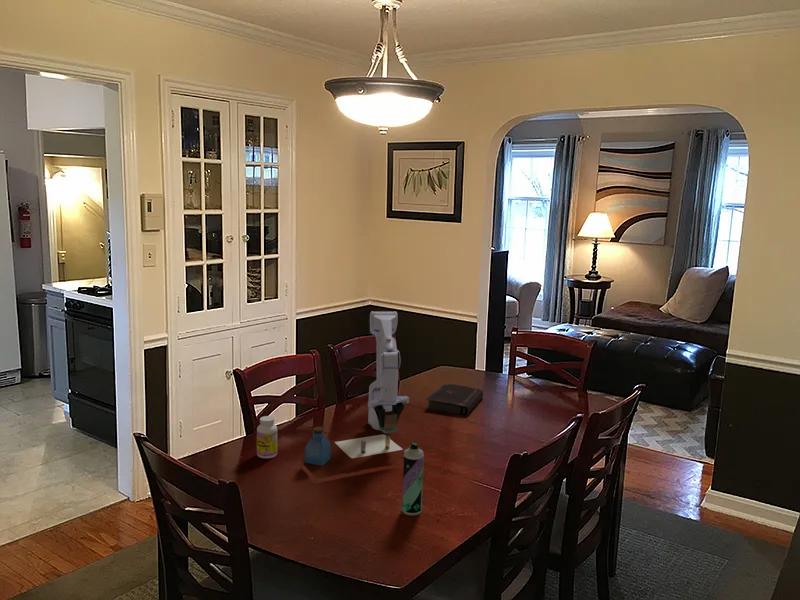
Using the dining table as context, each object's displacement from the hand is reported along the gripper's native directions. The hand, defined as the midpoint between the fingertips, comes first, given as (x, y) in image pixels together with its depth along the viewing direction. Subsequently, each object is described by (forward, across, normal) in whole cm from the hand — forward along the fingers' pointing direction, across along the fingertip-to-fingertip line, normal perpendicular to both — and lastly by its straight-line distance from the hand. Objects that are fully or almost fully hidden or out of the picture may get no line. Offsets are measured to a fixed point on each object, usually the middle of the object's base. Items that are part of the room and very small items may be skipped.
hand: (388, 425), depth 229 cm
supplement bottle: (+10, -38, +13) cm, 41 cm away
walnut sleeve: (+2, 0, 0) cm, 2 cm away
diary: (+10, +48, +34) cm, 60 cm away
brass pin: (+8, 0, 0) cm, 8 cm away
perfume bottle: (+10, -25, 0) cm, 27 cm away
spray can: (+10, -12, -40) cm, 43 cm away
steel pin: (+8, -9, 0) cm, 12 cm away
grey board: (+9, -5, +4) cm, 12 cm away
